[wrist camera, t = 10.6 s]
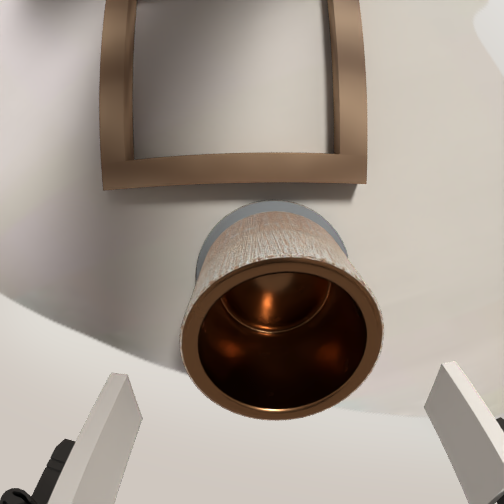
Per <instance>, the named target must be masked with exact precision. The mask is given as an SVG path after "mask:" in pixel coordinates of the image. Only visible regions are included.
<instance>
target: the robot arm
mask: <svg viewBox="0 0 504 504" xmlns="http://www.w3.org/2000/svg"><path fill="white" fill-rule="evenodd" d="M424 408H425V410H426V412H427V414H428V416H429V418H430V420H431V422H432V424H433V426H434V428H435V430H436V432H437V434H438V436H439V438H440V440H441V442H442V445H443V447H444V449H445V451H446V453H447V455H448V457H449V459H450V462H451V463H452V466H453V468H454V470H455V473H456V475H457V477H458V479H459V482H460V484H461V486H462V488H463V491H464V493H465V495H466V498H467V500H468V503H469V504H495V503H496V502H497V504H504V419H502V418H501V417H500V418H498V419H495V418H494V416H493V415H492V413H491V412H490V410H489V409H488V407H487V406H486V404H485V403H484V401H483V400H482V398H481V397H480V395H479V394H478V392H477V391H476V389H475V388H474V387H473V385H472V384H471V382H470V381H469V379H468V378H467V377H466V375H465V374H464V372H463V371H462V370H461V368H460V367H459V366H458V364H457V363H456V361H452V362H447V363H442V364H441V367H440V370H439V372H438V375H437V377H436V380H435V382H434V385H433V387H432V389H431V392H430V394H429V396H428V399H427V401H426V403H425V406H424ZM141 421H142V415H141V413H140V410H139V407H138V404H137V402H136V399H135V396H134V393H133V390H132V387H131V384H130V381H129V377H128V375H125V374H117V373H111V374H110V376H109V378H108V380H107V382H106V383H105V386H104V387H103V389H102V391H101V393H100V395H99V397H98V399H97V401H96V402H95V404H94V406H93V408H92V410H91V412H90V414H89V416H88V418H87V420H86V422H85V424H84V426H83V428H82V430H81V432H80V434H79V436H78V438H77V440H76V442H75V441H71V440H68V439H64V440H63V441H62V442H61V443H60V444H59V445H58V446H57V447H56V448H55V450H54V452H53V454H52V456H51V459H50V460H49V462H48V464H47V468H45V470H44V472H43V474H42V476H41V478H40V480H39V482H38V484H37V487H36V488H35V490H34V493H33V495H32V496H30V495H29V494H27V493H26V492H25V491H24V490H21V489H18V488H14V489H13V488H12V489H10V490H7V491H6V492H5V493H4V494H3V495H2V497H1V500H0V504H114V503H115V500H116V496H117V493H118V490H119V487H120V484H121V481H122V478H123V475H124V471H125V468H126V465H127V462H128V459H129V456H130V453H131V450H132V447H133V444H134V442H135V439H136V435H137V433H138V430H139V427H140V424H141Z"/></svg>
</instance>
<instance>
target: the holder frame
mask: <svg viewBox="0 0 504 504" xmlns="http://www.w3.org/2000/svg"><path fill="white" fill-rule="evenodd" d="M327 2H328V13H329V25H330V39H331V55H332V74H333V104H334V154H326V153H225V154H202V155H185V156H171V157H158V158H147V159H136V160H134V146H133V105H132V91H133V51H134V32H135V18H136V6H137V0H106V4H105V12H104V22H103V32H102V45H101V61H100V91H99V120H100V150H101V168H102V181H103V190H115V189H127V188H140V187H154V186H171V185H190V184H215V183H257V182H311V183H352V184H366V181H367V92H366V71H365V56H364V43H363V32H362V22H361V13H360V5H359V0H327Z"/></svg>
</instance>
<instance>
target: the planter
mask: <svg viewBox="0 0 504 504" xmlns="http://www.w3.org/2000/svg"><path fill="white" fill-rule="evenodd" d="M383 339H384V323H383V317H382V313H381V310H380V307H379V304H378V302H377V300H376V298H375V296H374V294H373V293H372V291H371V290H370V288H369V287H368V286H367V284H366V283H365V281H364V280H363V279H362V277H361V276H360V275H359V273H358V272H357V271H356V269H355V268H354V266H353V265H352V264H351V262H350V261H349V259H348V258H347V256H346V255H345V254H344V252H343V251H342V249H341V248H340V247H339V245H338V244H337V243H336V241H335V240H334V239H333V237H332V236H331V235H330V234H329V233H328V232H327V231H326V230H325V229H324V228H322V227H321V226H320V225H318V224H317V223H315V222H313V221H312V220H310V219H308V218H305V217H303V216H300V215H297V214H294V213H289V212H282V211H270V212H262V213H257V214H254V215H250V216H248V217H245V218H243V219H241V220H239V221H237V222H236V223H234V224H233V225H231V226H230V227H228V228H227V229H226V230H225V231H224V232H223V233H222V234H221V235H220V236H219V237H218V238H217V239H216V240H215V242H214V243H213V244H212V246H211V248H210V249H209V251H208V253H207V255H206V258H205V260H204V263H203V265H202V268H201V271H200V274H199V277H198V280H197V283H196V285H195V288H194V291H193V294H192V297H191V299H190V302H189V305H188V308H187V310H186V313H185V316H184V318H183V322H182V326H181V331H180V353H181V357H182V361H183V364H184V367H185V369H186V371H187V373H188V375H189V377H190V379H191V380H192V381H193V383H194V384H195V385H196V387H197V388H198V389H199V390H200V391H201V392H202V393H203V394H204V395H205V396H206V397H208V398H209V399H210V400H211V401H213V402H214V403H216V404H217V405H219V406H221V407H222V408H224V409H227V410H229V411H231V412H233V413H236V414H239V415H242V416H246V417H249V418H254V419H261V420H291V419H297V418H303V417H306V416H310V415H314V414H316V413H319V412H322V411H324V410H326V409H329V408H331V407H333V406H335V405H336V404H338V403H340V402H341V401H343V400H344V399H346V398H347V397H348V396H350V395H351V394H352V393H353V392H354V391H355V390H357V389H358V388H359V387H360V386H361V385H362V383H363V382H364V381H365V380H366V379H367V377H368V376H369V375H370V373H371V372H372V370H373V368H374V366H375V365H376V363H377V360H378V358H379V355H380V353H381V349H382V345H383Z"/></svg>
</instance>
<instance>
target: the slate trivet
mask: <svg viewBox="0 0 504 504" xmlns="http://www.w3.org/2000/svg"><path fill="white" fill-rule="evenodd" d="M270 211H282V212H289V213H294V214H297V215H300V216H303V217H305V218H308V219H310V220H312V221H313V222H315V223H317V224H318V225H320V226H321V227H322V228H324V229H325V230H326V231H327V232H328V233H329V234H330V235H331V236H332V237H333V239H334V240H335V241H336V243H337V244H338V245H339V247H340V248H341V249H342V251H343V252H344V254H345V255H346V256H347V258H348V255H347V251H346V248H345V246H344V244H343V241H342V240H341V238H340V236H339V235H338V233H337V232H336V230H335V229H334V228H333V227H332V226H331V224H330V223H329V222H328V221H326V220H325V219H324V218H323V217H322V216H321V215H319V214H318V213H316V212H315V211H314V210H312V209H310V208H308V207H306V206H303V205H300V204H298V203H295V202H290V201H284V200H264V201H258V202H254V203H250V204H247V205H245V206H242V207H240V208H238V209H236V210H234V211H232V212H231V213H230V214H228V215H227V216H225V217H224V218H223V219H222V220H221V221H220V222H218V223H217V225H216V226H215V227H214V228H213V229H212V231H211V232H210V233H209V235H208V237H207V238H206V240H205V242H204V244H203V246H202V249H201V251H200V254H199V257H198V261H197V269H196V280H198V277H199V274H200V271H201V268H202V265H203V263H204V260H205V258H206V255H207V253H208V251H209V249H210V248H211V246H212V244H213V243H214V242H215V240H216V239H217V238H218V237H219V236H220V235H221V234H222V233H223V232H224V231H225V230H226V229H227V228H228V227H230V226H231V225H233V224H234V223H236V222H237V221H239V220H241V219H243V218H245V217H248V216H250V215H254V214H257V213H262V212H270Z"/></svg>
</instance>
